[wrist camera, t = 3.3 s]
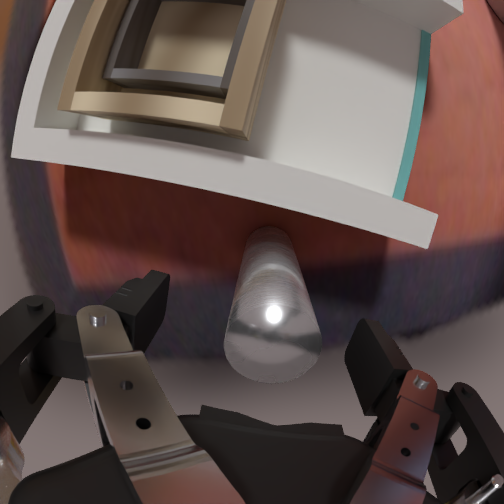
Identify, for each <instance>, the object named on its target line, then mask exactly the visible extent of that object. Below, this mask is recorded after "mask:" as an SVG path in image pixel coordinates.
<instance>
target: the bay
mask: <svg viewBox="0 0 504 504" xmlns="http://www.w3.org/2000/svg"><path fill="white" fill-rule="evenodd" d="M93 2H94V0H56V2H55V4H54V6H53V8H52V11H51V13H50V15H49V17H48V20H47V22H46V24H45V27H44V29H43V32H42V34H41V37H40V40H39V42H38V45H37V48H36V51H35V53H34V56H33V59H32V63H31V66H30V69H29V72H28V76H27V79H26V83H25V87H24V90H23V94H22V99H21V103H20V107H19V112H18V117H17V122H16V128H15V133H14V140H13V147H12V154H11V158H20V159H29V160H37V161H45V162H52V163H59V164H66V165H73V166H80V167H86V168H93V169H99V170H105V171H111V172H117V173H123V174H128V175H134V176H139V177H145V178H150V179H155V180H161V181H166V182H171V183H176V184H181V185H186V186H190V187H195V188H200V189H205V190H209V191H214V192H218V193H223V194H227V195H232V196H236V197H241V198H245V199H249V200H253V201H258V202H262V203H266V204H270V205H274V206H278V207H282V208H286V209H290V210H294V211H298V212H302V213H305V214H309V215H313V216H317V217H321V218H324V219H328V220H332V221H335V222H339V223H342V224H346V225H350V226H353V227H357V228H360V229H363V230H367V231H370V232H374V233H377V234H380V235H384V236H387V237H390V238H394V239H397V240H400V241H403V242H407V243H410V244H413V245H416V246H419V247H422V248H425V249H428V246H429V243H430V240H431V237H432V234H433V231H434V228H435V225H436V221H437V218H438V215H437V214H435V213H432V212H430V211H427V210H425V209H422V208H420V207H417V206H414V205H412V204H409V203H406V202H404V201H403V198H404V194H405V191H406V187H407V183H408V179H409V175H410V171H411V167H412V162H413V158H414V154H415V149H416V144H417V139H418V134H419V129H420V124H421V118H422V112H423V106H424V99H425V92H426V85H427V76H428V67H429V56H430V43H431V34H432V33H434V32H435V31H437V30H438V29H440V28H441V27H443V26H444V25H446V24H447V23H449V22H451V21H452V20H454V19H455V18H457V17H458V16H460V15H462V14H463V1H462V0H286V4H285V7H284V10H283V14H282V17H281V21H280V25H279V28H278V32H277V35H276V39H275V43H274V46H273V50H272V54H271V57H270V61H269V65H268V68H267V72H266V76H265V80H264V84H263V88H262V91H261V95H260V99H259V103H258V107H257V111H256V115H255V119H254V123H253V127H252V131H251V135H250V139H249V141H245V140H241V139H236V138H231V137H226V136H221V135H216V134H211V133H205V132H199V131H194V130H187V129H181V128H175V127H168V126H161V125H153V124H145V123H136V122H127V121H116V120H107V119H102V118H98V117H93V116H88V115H83V114H77V113H72V112H66V111H60V110H57V108H58V104H59V99H60V95H61V92H62V88H63V84H64V80H65V77H66V74H67V70H68V67H69V64H70V61H71V58H72V55H73V52H74V49H75V46H76V43H77V40H78V38H79V35H80V32H81V30H82V27H83V25H84V23H85V20H86V18H87V15H88V13H89V11H90V9H91V6H92V4H93Z"/></svg>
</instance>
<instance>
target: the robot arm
mask: <svg viewBox="0 0 504 504" xmlns="http://www.w3.org/2000/svg"><path fill="white" fill-rule="evenodd" d="M487 1H488V3H489V4H490V6H491V7H492V9H493V10H494V12H495V13H496V14H497V16H498V17H499V19H500V20H501V21H502V22H503V23H504V0H487ZM169 282H170V275H169V274H167V273H163V272H159V271H155V270H151V271H150V272H149V273H148V274H147V275H146V276H145V277H144V278H143V279H140V278H134V279H132V280H129V281H127V282H126V283H125V284H124V285H123V286H121V288H119V289H118V290H117V291H116V293H114V294H113V295H112V296H111V297H110V298H109V299H108V300H107V301H106V302H105V303H104V304H103V305H90V306H86V307H84V308H82V309H80V310H79V311H78V313H77V316H71V315H64V314H58V313H55V305H54V302H53V301H52V300H51V299H49V298H47V297H44V296H39V295H33V296H27V297H25V298H23V299H21V300H20V301H18V302H17V303H16V304H15V305H13V306H12V307H11V308H10V309H8V310H7V311H6V312H5V313H3V314H2V315H1V316H0V504H504V433H503V431H502V429H501V428H500V427H499V425H498V423H497V422H496V420H495V418H494V417H493V415H492V414H491V412H490V411H489V409H488V408H487V406H486V405H485V403H484V402H483V400H482V399H481V397H480V396H479V394H478V393H477V392H476V391H475V390H474V389H473V388H472V387H471V386H469V385H467V384H465V383H462V382H457V383H455V384H454V385H453V387H452V388H451V390H450V391H449V392H447V391H443V390H439V389H437V383H436V381H435V380H434V379H433V378H432V377H431V376H430V375H428V374H427V373H425V372H423V371H420V370H413V369H412V367H411V365H410V364H409V362H408V361H407V359H406V358H405V356H404V355H402V354H403V353H402V352H401V350H400V349H399V347H398V346H397V344H396V343H395V341H394V340H393V339H392V338H391V337H389V336H388V335H387V333H386V332H385V330H384V329H383V327H382V326H381V324H380V323H379V322H378V321H374V320H368V319H361V320H360V321H359V322H358V324H357V326H356V329H355V331H354V333H353V335H352V338H351V340H350V342H349V344H348V346H347V348H346V351H345V364H346V366H347V369H348V372H349V374H350V377H351V380H352V383H353V385H354V388H355V391H356V393H357V396H358V399H359V402H360V405H361V407H362V410H363V413H364V415H365V416H377V417H378V418H377V419H376V420H375V422H374V423H373V425H372V427H371V429H370V430H369V432H368V434H367V435H366V437H365V439H364V441H363V442H361V441H360V440H358V439H355V438H353V437H350V436H347V435H344V432H343V428H342V425H335V424H321V423H302V424H292V425H280V426H276V425H271V424H269V423H265V422H262V421H259V420H257V419H254V418H251V417H249V416H246V415H243V414H240V413H238V412H233V411H227V410H223V409H218V408H213V407H209V406H205V405H202V406H201V410H200V415H180V416H177V415H176V414H175V412H174V410H173V408H172V407H171V405H170V403H169V401H168V400H167V398H166V396H165V394H164V392H163V391H162V389H161V387H160V385H159V383H158V381H157V379H156V378H155V376H154V374H153V372H152V370H151V368H150V366H149V364H148V362H147V360H146V358H145V356H144V353H145V352H146V350H147V348H148V346H149V345H150V343H151V341H152V339H153V338H154V336H155V334H156V332H157V331H158V329H159V327H160V325H161V324H162V322H163V319H164V316H165V311H166V304H167V297H168V289H169ZM26 356H27V358H26V359H25V360H24V361H23V359H24V358H25V357H26ZM22 361H23V362H22ZM21 362H22V363H21ZM20 364H21V365H20ZM62 377H64V378H70V379H76V380H83V381H84V386H85V390H86V394H87V398H88V401H89V405H90V408H91V412H92V415H93V418H94V422H95V425H96V429H97V433H98V436H99V439H100V443H101V446H102V448H99V449H97V450H95V451H92V452H90V453H87V454H85V455H82V456H80V457H78V458H75V459H72V460H70V461H67V462H65V463H62V464H59V465H56V466H53V467H50V468H47V469H45V470H42V471H38V472H36V473H33V474H31V475H29V476H27V477H25V478H24V479H23V480H22V469H23V466H24V453H23V451H22V449H21V447H20V445H19V444H20V442H21V440H22V439H23V437H24V435H25V434H26V432H27V431H28V429H29V427H30V426H31V424H32V423H33V421H34V419H35V418H36V416H37V414H38V413H39V411H40V410H41V408H42V407H43V405H44V403H45V402H46V400H47V399H48V397H49V396H50V394H51V393H52V391H53V390H54V388H55V387H56V385H57V384H58V382H59V381H60V379H61V378H62ZM460 426H461V427H462V429H463V431H464V433H465V435H466V437H467V445H466V448H465V449H464V450H463V452H462V453H461V454H460V455H459V456H458V454H457V452H456V450H455V448H454V446H453V444H452V441H451V440H450V438H451V437H452V435H453V434H454V433H455V432H456V431H457V429H458V428H459V427H460ZM427 469H428V472H429V475H430V478H431V481H432V484H433V486H434V489H435V492H436V495H437V498H435V497H434V496H433V495H431V494H430V493H429V492H427V491H426V486H425V485H424V483H423V482H424V478H425V475H426V471H427Z"/></svg>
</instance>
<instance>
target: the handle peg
mask: <svg viewBox="0 0 504 504" xmlns="http://www.w3.org/2000/svg"><path fill="white" fill-rule="evenodd" d="M321 348H322V338H321V333H320V330H319V327H318V324H317V320H316V317H315V314H314V311H313V307H312V304H311V301H310V298H309V295H308V292H307V288H306V285H305V282H304V279H303V276H302V273H301V270H300V267H299V264H298V261H297V258H296V255H295V252H294V249H293V246H292V243H291V240H290V238H289V236H288V235H287V234H286V233H285V232H284V231H283V230H281V229H279V228H276V227H272V226H266V227H261V228H259V229H257V230H255V231H254V232H253V233H252V234H251V235H250V236H249V237H248V239H247V241H246V245H245V249H244V254H243V258H242V263H241V267H240V271H239V276H238V280H237V285H236V289H235V294H234V298H233V303H232V307H231V312H230V316H229V321H228V325H227V330H226V334H225V340H224V350H225V355H226V357H227V359H228V361H229V363H230V364H231V366H232V367H233V368H234V369H235V370H236V371H237V372H238V373H240V374H241V375H243V376H244V377H246V378H248V379H250V380H253V381H257V382H261V383H282V382H287V381H290V380H293V379H296V378H298V377H299V376H301V375H303V374H304V373H306V372H307V371H308V370H309V369H310V368H311V367H312V366H313V365H314V364H315V362H316V361H317V359H318V357H319V355H320V352H321Z"/></svg>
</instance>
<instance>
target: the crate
mask: <svg viewBox="0 0 504 504" xmlns="http://www.w3.org/2000/svg"><path fill="white" fill-rule="evenodd" d="M285 4H286V0H94V2H93V4H92V6H91V9H90V11H89V13H88V15H87V18H86V20H85V23H84V25H83V27H82V30H81V32H80V35H79V38H78V40H77V43H76V46H75V49H74V52H73V55H72V58H71V61H70V64H69V67H68V70H67V74H66V77H65V80H64V84H63V88H62V92H61V95H60V99H59V104H58V108H57V110H60V111H66V112H72V113H77V114H83V115H88V116H93V117H98V118H102V119H107V120H116V121H127V122H136V123H145V124H153V125H161V126H168V127H175V128H181V129H187V130H194V131H199V132H205V133H211V134H216V135H221V136H226V137H231V138H236V139H241V140H245V141H249V139H250V135H251V131H252V127H253V123H254V119H255V115H256V111H257V107H258V103H259V99H260V95H261V91H262V88H263V84H264V80H265V76H266V72H267V68H268V65H269V61H270V57H271V54H272V50H273V46H274V43H275V39H276V35H277V32H278V28H279V25H280V21H281V17H282V14H283V10H284V7H285Z"/></svg>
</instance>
